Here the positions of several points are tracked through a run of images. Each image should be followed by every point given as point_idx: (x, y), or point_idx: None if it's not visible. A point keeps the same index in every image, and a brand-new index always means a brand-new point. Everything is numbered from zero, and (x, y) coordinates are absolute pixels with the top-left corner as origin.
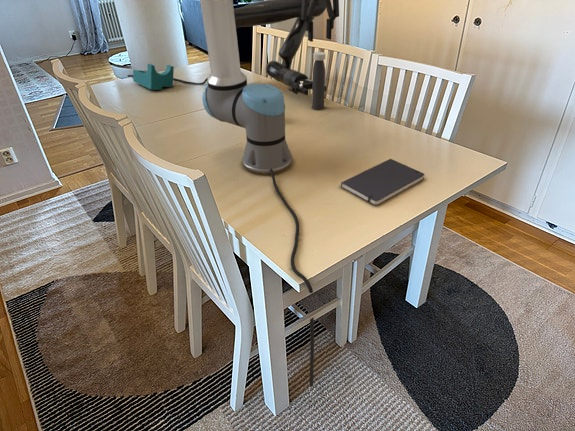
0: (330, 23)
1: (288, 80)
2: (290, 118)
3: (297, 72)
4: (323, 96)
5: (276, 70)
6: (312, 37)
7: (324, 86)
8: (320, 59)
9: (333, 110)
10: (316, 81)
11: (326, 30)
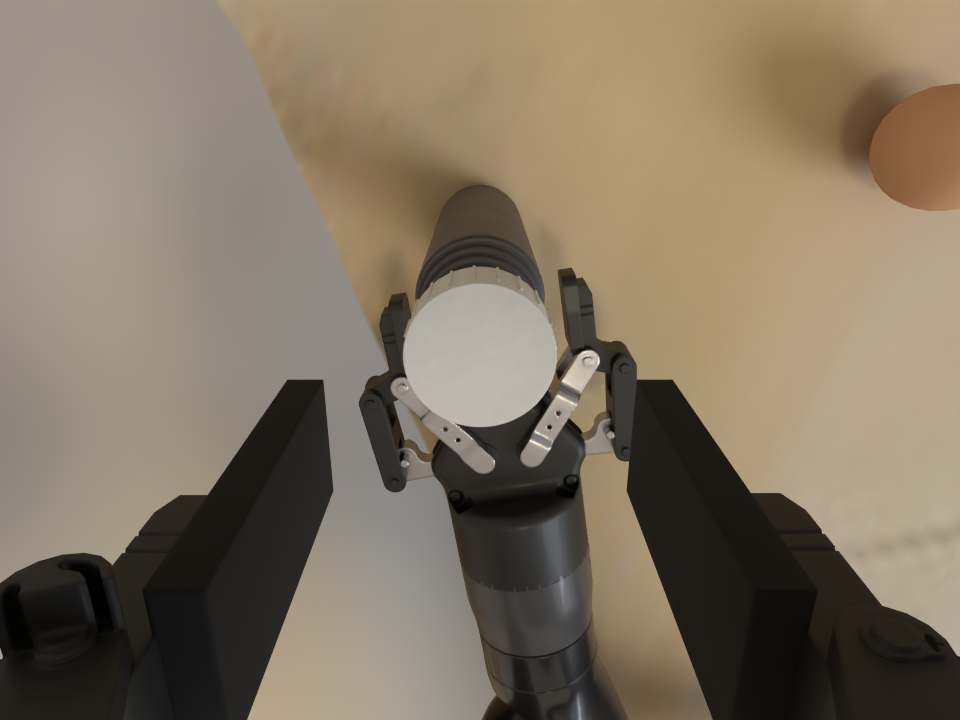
0: (219, 532)
1: (587, 547)
2: (740, 126)
3: (524, 570)
4: (455, 204)
5: (601, 713)
6: (662, 407)
7: (440, 226)
8: (497, 267)
9: (400, 135)
10: (521, 236)
11: (303, 563)
